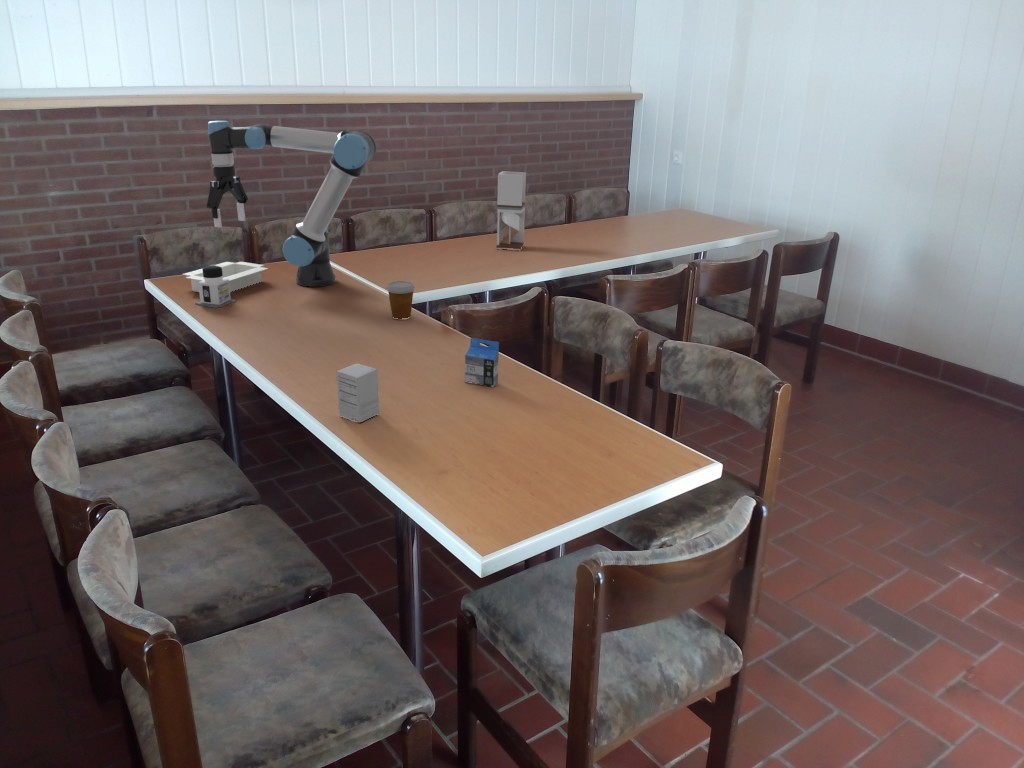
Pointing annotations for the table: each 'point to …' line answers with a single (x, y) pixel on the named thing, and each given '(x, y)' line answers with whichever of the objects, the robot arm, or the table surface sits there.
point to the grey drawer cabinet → (358, 392)
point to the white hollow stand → (511, 209)
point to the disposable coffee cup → (401, 298)
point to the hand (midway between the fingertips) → (230, 223)
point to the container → (214, 286)
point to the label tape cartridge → (482, 362)
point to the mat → (214, 304)
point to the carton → (231, 275)
